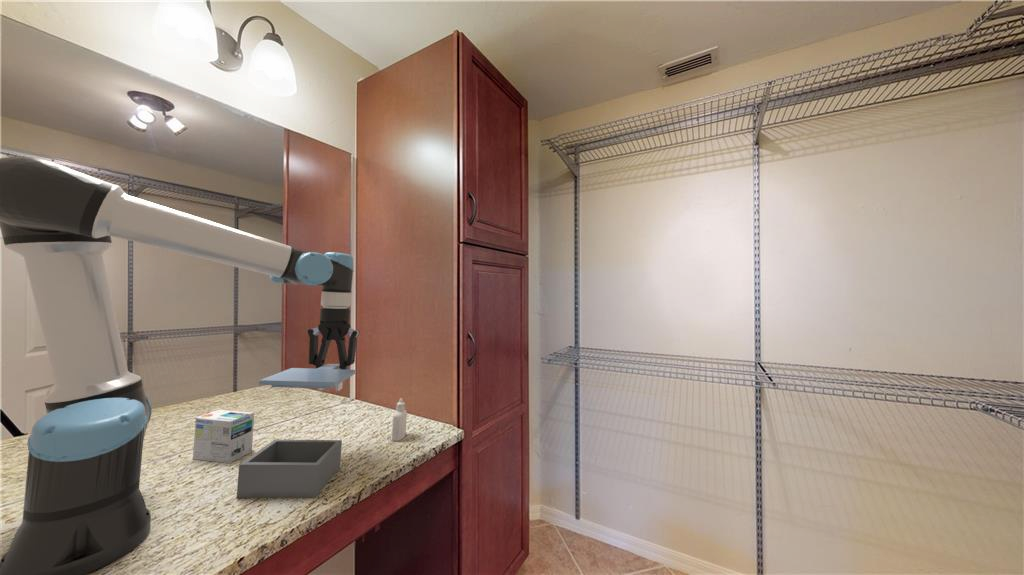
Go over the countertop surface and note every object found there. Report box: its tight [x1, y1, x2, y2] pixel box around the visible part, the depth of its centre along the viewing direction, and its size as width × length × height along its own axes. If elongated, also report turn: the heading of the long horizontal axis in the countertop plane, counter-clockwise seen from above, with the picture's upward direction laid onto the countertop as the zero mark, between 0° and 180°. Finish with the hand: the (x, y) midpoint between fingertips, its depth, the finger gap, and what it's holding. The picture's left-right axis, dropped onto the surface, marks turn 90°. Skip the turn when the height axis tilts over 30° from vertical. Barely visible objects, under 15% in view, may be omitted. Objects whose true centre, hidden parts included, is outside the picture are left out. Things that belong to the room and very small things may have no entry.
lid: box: [258, 363, 357, 389], centre depth 84 cm, size 17×19×2 cm
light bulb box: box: [192, 409, 255, 464], centre depth 85 cm, size 11×7×11 cm, turn 84°
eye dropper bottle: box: [391, 398, 408, 442], centre depth 101 cm, size 4×6×12 cm
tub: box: [236, 438, 343, 499], centre depth 75 cm, size 16×12×7 cm
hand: (330, 389), depth 92 cm, fingers closed on lid, 4 cm apart
